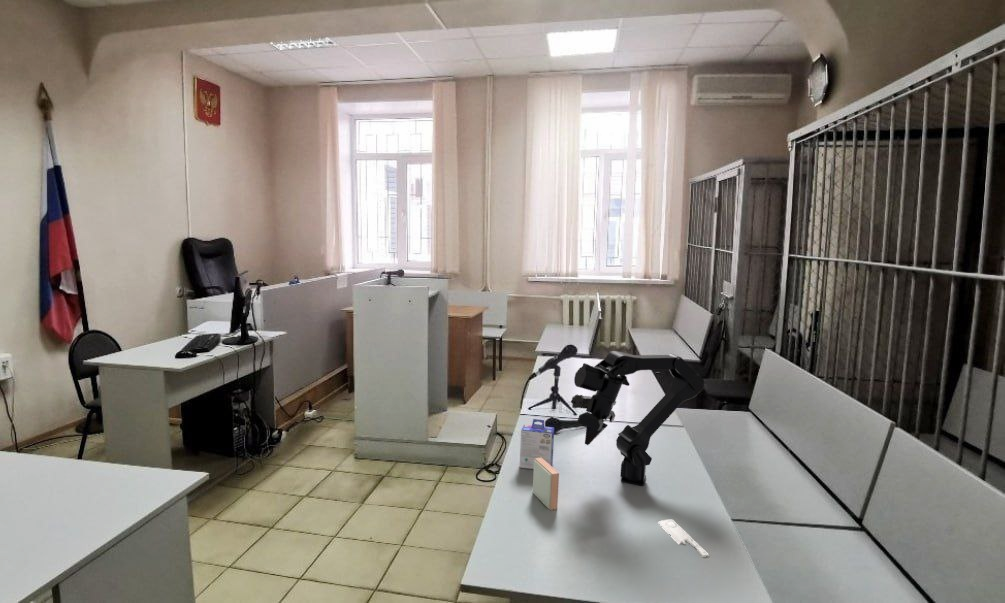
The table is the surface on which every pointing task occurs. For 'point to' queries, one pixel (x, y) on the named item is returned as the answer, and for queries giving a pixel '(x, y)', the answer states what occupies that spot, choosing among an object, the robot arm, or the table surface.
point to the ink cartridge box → (536, 444)
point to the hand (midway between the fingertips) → (586, 444)
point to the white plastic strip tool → (680, 535)
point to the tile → (545, 483)
